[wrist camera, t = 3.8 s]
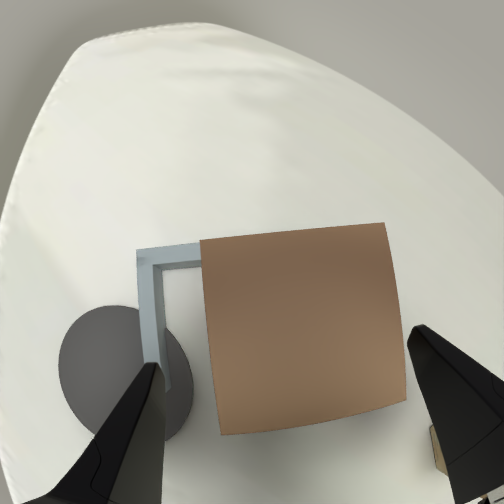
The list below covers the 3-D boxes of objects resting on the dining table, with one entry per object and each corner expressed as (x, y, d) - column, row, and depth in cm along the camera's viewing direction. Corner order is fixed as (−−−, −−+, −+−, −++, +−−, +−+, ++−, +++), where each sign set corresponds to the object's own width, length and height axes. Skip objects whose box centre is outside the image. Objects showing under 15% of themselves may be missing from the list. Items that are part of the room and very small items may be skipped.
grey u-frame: (386, 357, 17) (400, 360, 16) (158, 386, 17) (148, 393, 15) (369, 233, 19) (380, 224, 17) (146, 256, 19) (136, 249, 17)
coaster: (159, 470, 15) (157, 472, 15) (47, 394, 16) (44, 395, 16) (219, 352, 18) (218, 353, 17) (91, 279, 18) (89, 278, 18)
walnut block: (310, 353, 18) (406, 399, 6) (237, 363, 17) (221, 435, 6) (301, 283, 19) (383, 222, 7) (229, 291, 18) (199, 240, 7)
